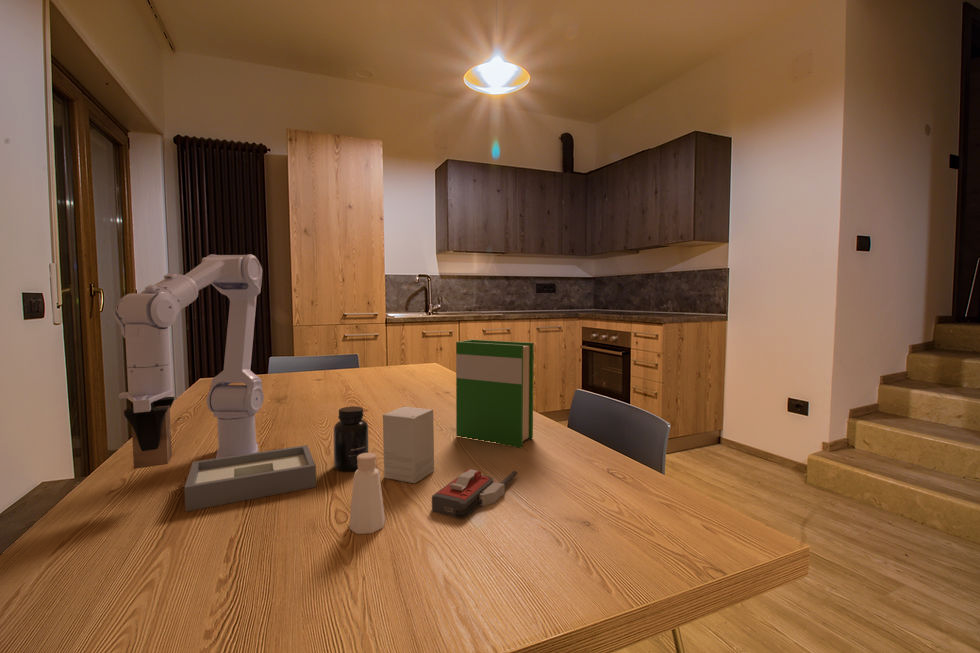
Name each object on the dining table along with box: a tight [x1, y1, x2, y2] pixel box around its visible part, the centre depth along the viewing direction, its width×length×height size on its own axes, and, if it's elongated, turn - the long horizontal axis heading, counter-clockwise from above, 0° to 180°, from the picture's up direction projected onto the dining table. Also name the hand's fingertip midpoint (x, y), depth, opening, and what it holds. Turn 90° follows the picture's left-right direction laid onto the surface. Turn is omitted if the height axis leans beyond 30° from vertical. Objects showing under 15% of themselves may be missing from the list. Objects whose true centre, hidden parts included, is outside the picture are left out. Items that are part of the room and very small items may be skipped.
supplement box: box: [382, 406, 435, 484], centre depth 87 cm, size 7×7×13 cm
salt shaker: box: [348, 452, 386, 535], centre depth 68 cm, size 5×5×11 cm
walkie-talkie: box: [431, 468, 519, 520], centre depth 79 cm, size 9×4×20 cm
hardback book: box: [455, 339, 535, 448], centre depth 110 cm, size 18×7×24 cm, turn 63°
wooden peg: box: [131, 405, 173, 470], centre depth 75 cm, size 4×4×9 cm
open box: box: [184, 444, 317, 512], centre depth 82 cm, size 13×20×4 cm, turn 119°
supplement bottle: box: [333, 405, 369, 472], centre depth 91 cm, size 7×7×12 cm
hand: (152, 445), depth 75 cm, fingers closed on wooden peg, 4 cm apart
